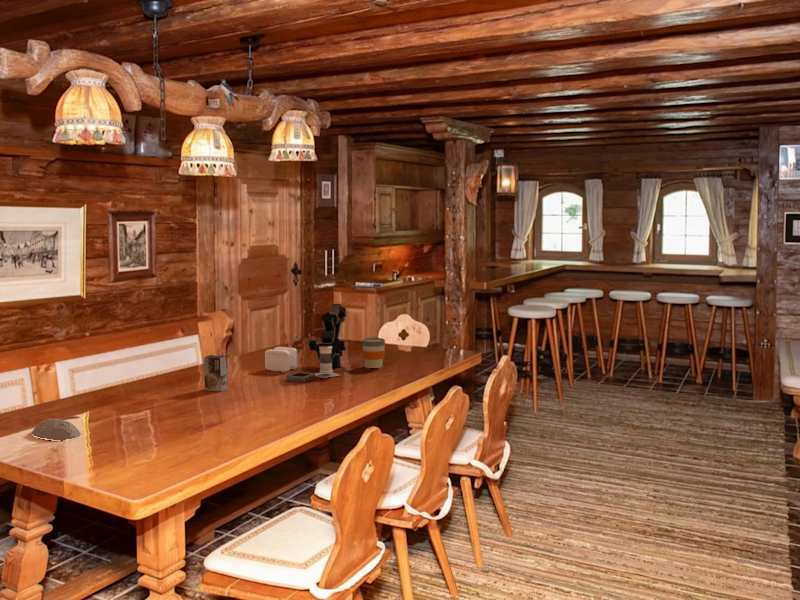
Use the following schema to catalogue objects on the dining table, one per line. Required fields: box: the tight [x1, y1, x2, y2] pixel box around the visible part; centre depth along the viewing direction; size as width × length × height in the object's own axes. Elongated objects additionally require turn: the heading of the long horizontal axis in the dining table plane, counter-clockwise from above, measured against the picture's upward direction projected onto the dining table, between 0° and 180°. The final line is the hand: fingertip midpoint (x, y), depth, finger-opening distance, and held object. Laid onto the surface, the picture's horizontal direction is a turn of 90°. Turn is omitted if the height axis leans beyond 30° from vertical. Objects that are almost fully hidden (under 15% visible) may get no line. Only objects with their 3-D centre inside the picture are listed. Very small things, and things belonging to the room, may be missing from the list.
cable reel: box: [319, 346, 334, 373], centre depth 399 cm, size 7×7×13 cm
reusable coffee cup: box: [361, 337, 386, 369], centre depth 421 cm, size 13×13×15 cm
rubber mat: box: [314, 372, 341, 379], centre depth 400 cm, size 11×11×1 cm
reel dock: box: [285, 371, 316, 383], centre depth 390 cm, size 10×10×2 cm
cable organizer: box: [264, 346, 298, 373], centre depth 414 cm, size 15×11×12 cm
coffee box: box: [203, 354, 229, 392], centre depth 368 cm, size 9×6×16 cm
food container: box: [31, 417, 82, 440], centre depth 294 cm, size 16×25×7 cm, turn 50°
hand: (325, 358), depth 397 cm, fingers closed on cable reel, 6 cm apart
